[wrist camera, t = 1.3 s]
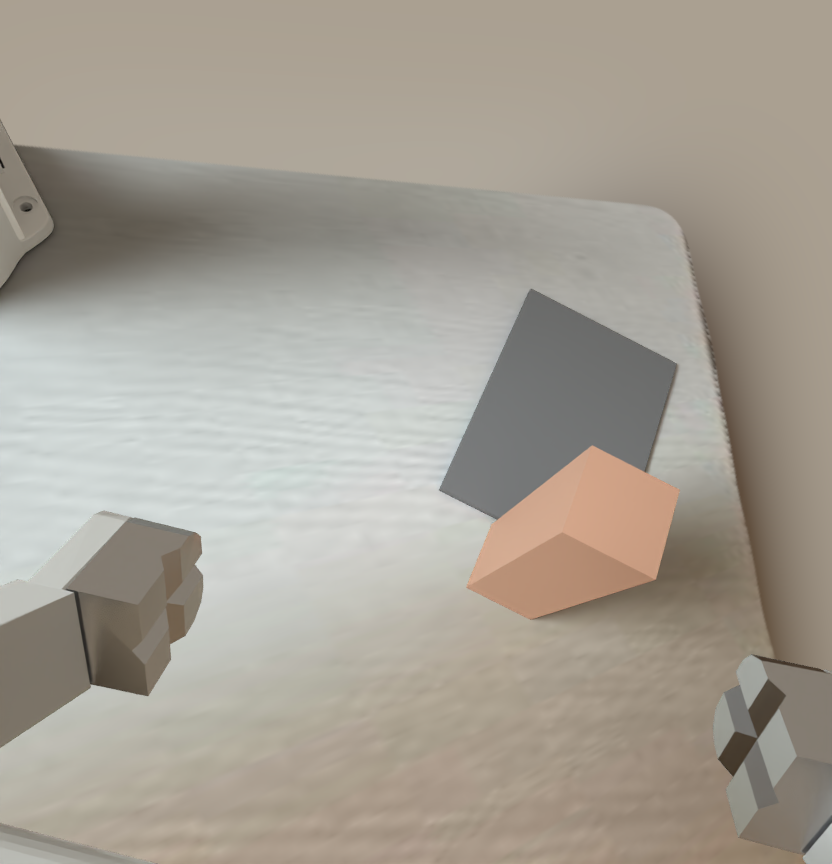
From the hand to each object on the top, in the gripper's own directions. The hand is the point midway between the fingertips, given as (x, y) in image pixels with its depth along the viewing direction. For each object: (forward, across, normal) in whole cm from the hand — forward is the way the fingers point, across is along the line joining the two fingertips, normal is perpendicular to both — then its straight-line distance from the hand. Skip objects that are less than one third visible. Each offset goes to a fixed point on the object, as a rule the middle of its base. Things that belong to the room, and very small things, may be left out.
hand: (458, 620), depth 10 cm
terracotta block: (+29, -5, +24) cm, 38 cm away
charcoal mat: (+40, -7, +17) cm, 44 cm away
